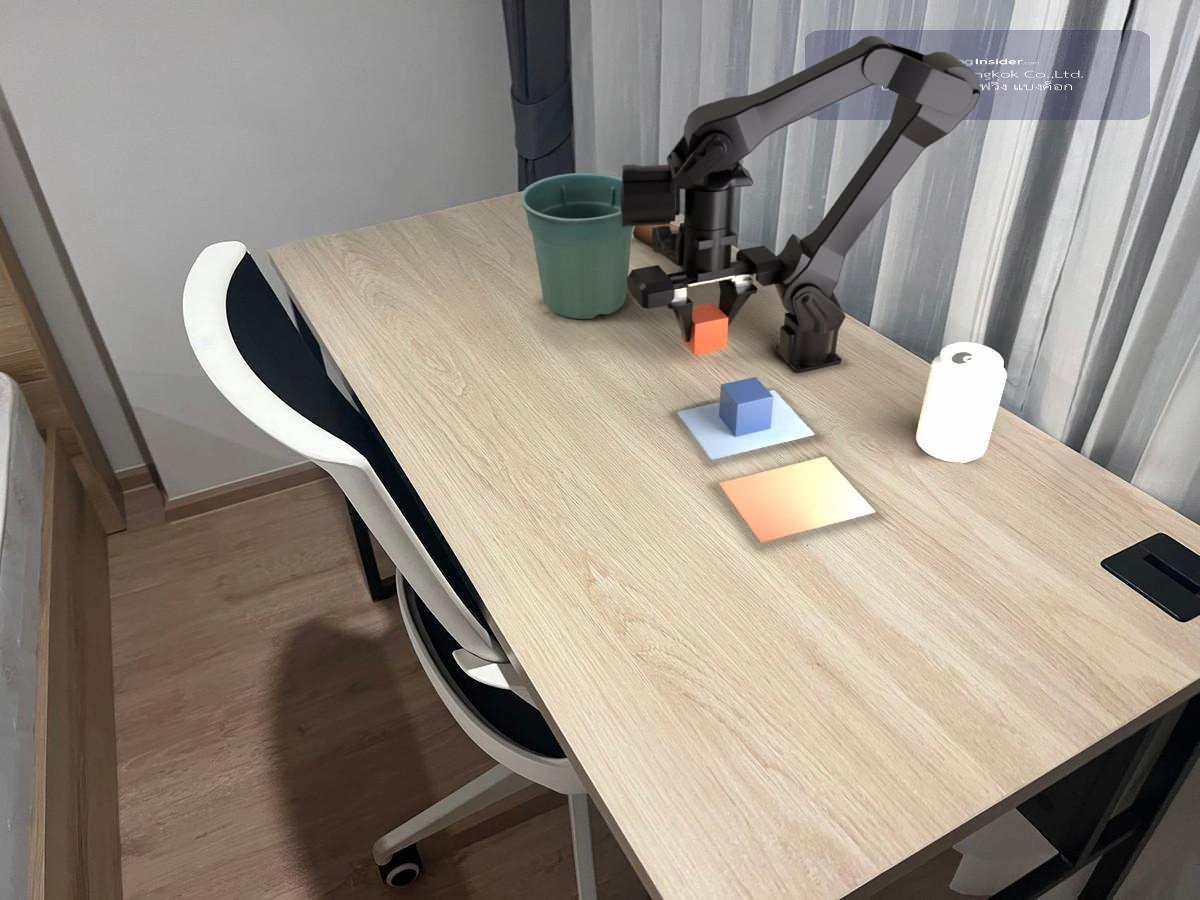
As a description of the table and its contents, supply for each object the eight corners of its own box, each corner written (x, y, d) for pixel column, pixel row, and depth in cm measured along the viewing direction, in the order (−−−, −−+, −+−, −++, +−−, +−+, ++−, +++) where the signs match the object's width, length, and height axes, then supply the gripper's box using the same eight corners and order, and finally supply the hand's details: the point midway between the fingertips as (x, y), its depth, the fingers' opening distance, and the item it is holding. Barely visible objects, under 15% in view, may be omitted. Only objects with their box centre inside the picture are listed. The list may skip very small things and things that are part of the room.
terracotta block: (712, 332, 118) (713, 301, 115) (726, 348, 114) (728, 317, 112) (680, 339, 117) (680, 308, 114) (694, 355, 113) (695, 324, 111)
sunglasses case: (739, 266, 138) (723, 236, 133) (706, 297, 138) (688, 268, 133) (675, 226, 150) (658, 198, 146) (644, 255, 150) (626, 227, 146)
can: (935, 420, 105) (956, 330, 98) (996, 446, 101) (1023, 354, 93) (901, 448, 101) (920, 356, 94) (963, 477, 97) (989, 383, 89)
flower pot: (664, 305, 130) (665, 197, 120) (568, 340, 123) (561, 229, 113) (600, 265, 141) (596, 164, 131) (509, 296, 134) (498, 191, 124)
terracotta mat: (824, 460, 100) (825, 455, 99) (874, 515, 92) (875, 511, 92) (717, 487, 97) (717, 482, 96) (760, 547, 89) (760, 542, 89)
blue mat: (773, 393, 111) (774, 389, 110) (814, 438, 103) (815, 434, 103) (676, 415, 108) (676, 411, 107) (710, 463, 100) (711, 459, 100)
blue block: (753, 408, 107) (755, 376, 105) (770, 428, 104) (773, 396, 101) (718, 416, 106) (720, 384, 103) (735, 437, 103) (737, 404, 100)
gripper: (749, 185, 114) (742, 296, 123) (610, 208, 109) (614, 322, 119) (792, 218, 105) (780, 334, 115) (643, 244, 101) (644, 363, 110)
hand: (703, 336), depth 115 cm, fingers closed on terracotta block, 4 cm apart
